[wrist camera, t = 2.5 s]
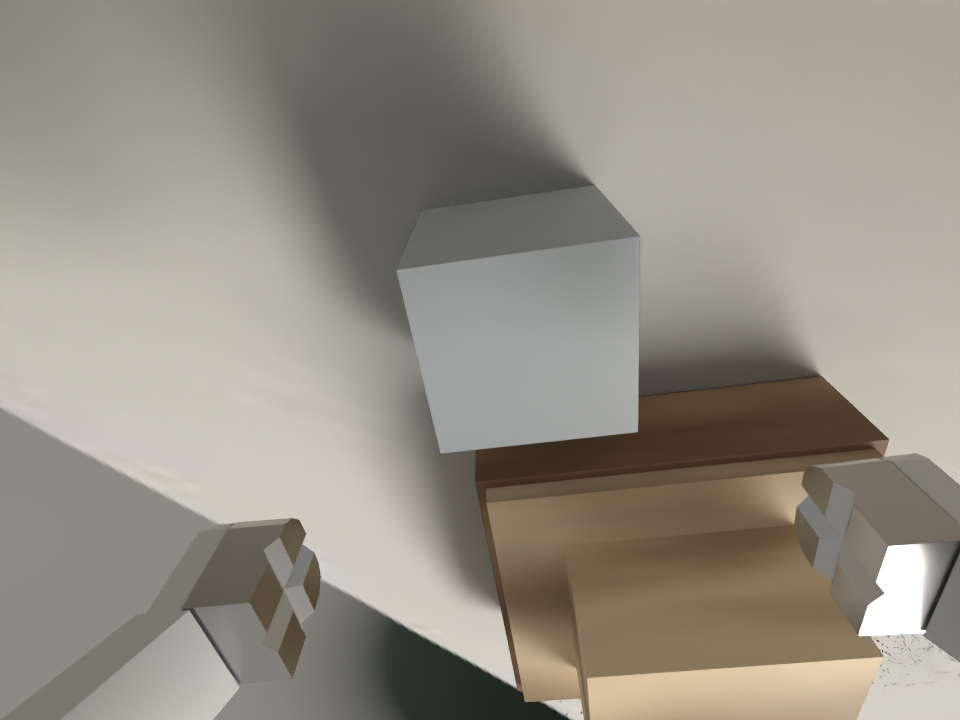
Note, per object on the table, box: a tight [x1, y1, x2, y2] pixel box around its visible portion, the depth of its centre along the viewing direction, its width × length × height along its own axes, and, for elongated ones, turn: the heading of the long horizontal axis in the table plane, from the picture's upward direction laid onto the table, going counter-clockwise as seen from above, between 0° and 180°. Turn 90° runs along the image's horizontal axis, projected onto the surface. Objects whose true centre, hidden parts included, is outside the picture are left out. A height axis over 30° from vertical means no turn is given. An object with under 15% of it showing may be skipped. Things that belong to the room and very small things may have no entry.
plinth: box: [475, 376, 889, 702], centre depth 19 cm, size 12×12×4 cm
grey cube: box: [396, 185, 640, 454], centre depth 14 cm, size 5×5×5 cm
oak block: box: [565, 525, 884, 720], centre depth 16 cm, size 7×7×4 cm
